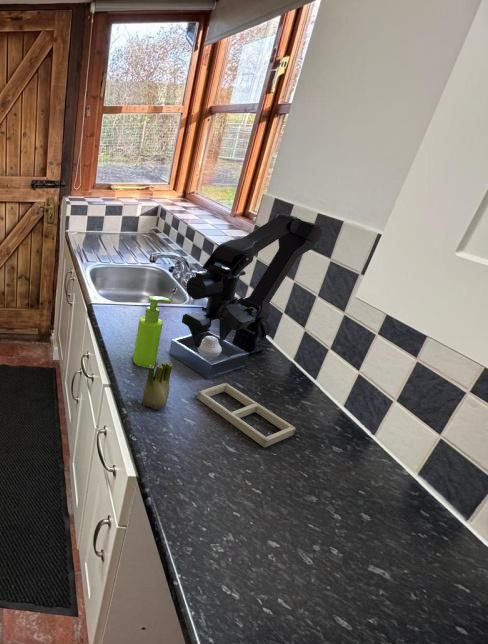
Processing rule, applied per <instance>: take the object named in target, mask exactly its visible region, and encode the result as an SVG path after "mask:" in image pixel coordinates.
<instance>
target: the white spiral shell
mask: <svg viewBox="0 0 488 644" xmlns="http://www.w3.org/2000/svg"><path fill="white" fill-rule="evenodd" d="M197 349H198V352H199V355H200V356H202V357H204V358H205V359H207V360H208V361H212V360H214V359H215V358H216V357H217V356H218V355H219V354H220V353H221V351H222V348H221V346H220V345H219V343H218V339H217V338H216V337H213V336H206V337H205V338H204V339H203V340H202V342H201V345H200V347H197Z"/></svg>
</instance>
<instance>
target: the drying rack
mask: <svg viewBox="0 0 488 644" xmlns="http://www.w3.org/2000/svg"><path fill="white" fill-rule="evenodd" d="M224 392H225V393H226V394H228V395H229V396H230V397H233V398H234V399H235V400H237V401H238V402H240V403H241V404H243V405H244V406H243V407H241V408H238V409H236V410H234V411H230V410H229V409H227V408H226V407H224V406H223V405H222V404H220V403H219V402H217V401H216V400H214V399H213V398H212V397H214V396H216V395H218V394H221V393H224ZM196 399H197V400H199V401H200V402H202V403H203V404H205V405H206V406H207V407H208V408H210V409H211V410H212V411H214V412H215V413H216V414H218V415H219V416H221V417H222V418H223V419H225V420H226V421H227V422H228V423H230V424H231V425H233V426H234V427H235V428H236V429H238V430H240V431H241V432H242V433H244V434H245V435H247V436H248V437H249V438H250V439H252V440H253V441H255V442H256V443H257V444H259V445H260V446H261V447H263V448H267V447H269V446H272V445H274V444H276V443H278V442H281V441H283V440H285V439H288V438H291V437H292V436H294V435H295V432H296V429H297V427H295V426H294V425H292V424H291V423H290V422H287V421H286V420H284V419H283V418H281V417H280V416H278V415H276V413H274V412H272V411H271V410H269V409H267V408H266V407H265V406H264V405H263V406H262V405H261V404H260V403H258V402H257V401H255V400H254V399H252V398H250V397H249V396H248V395H246V394H244V393H243V392H241V391H239V390H238V389H237V388H235V387H233V386H232V385H231V384H229V383H227V382H223V383H221V384H220V383H219V384H217V385H215V386H211V387H209V388H208V387H207V388H206V389H202V390H199V391H198V393H197V397H196ZM254 413H256V414H257V415H259V416H260V417H262V418H264V419H265V420H266V421H268V422H269V423H271V424H272V425H274V426H275V427H277V428H278V429H280V431H277V432H275V433H273V434H270V435H268V436H265V435H264V434H263V433H261V432H260V431H258V430H257V429H256V428H254V427H253V426H251V425H249V424H248V423H247V422H245V421H244V420H243V419H241V418H244V417H246V416H249V415H251V414H254Z"/></svg>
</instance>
